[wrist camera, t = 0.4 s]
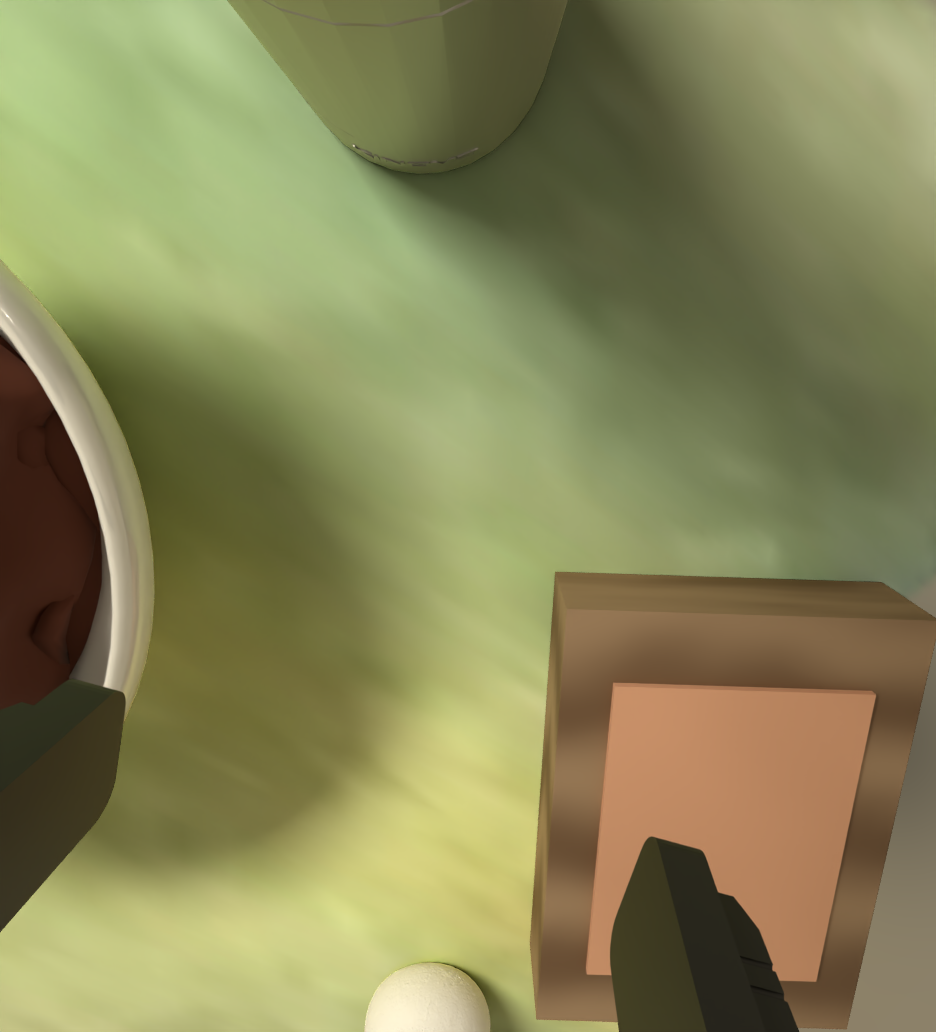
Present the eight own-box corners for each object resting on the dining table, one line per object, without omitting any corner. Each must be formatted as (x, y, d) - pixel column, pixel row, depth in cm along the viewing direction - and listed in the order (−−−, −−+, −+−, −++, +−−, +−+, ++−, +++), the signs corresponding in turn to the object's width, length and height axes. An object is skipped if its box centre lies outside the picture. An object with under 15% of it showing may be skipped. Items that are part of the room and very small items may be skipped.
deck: (555, 571, 31) (566, 608, 27) (881, 582, 31) (940, 620, 27) (529, 944, 36) (536, 1019, 32) (807, 952, 36) (846, 1029, 32)
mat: (613, 682, 28) (614, 686, 27) (871, 690, 28) (876, 694, 27) (585, 968, 31) (586, 974, 31) (813, 975, 31) (816, 981, 31)
